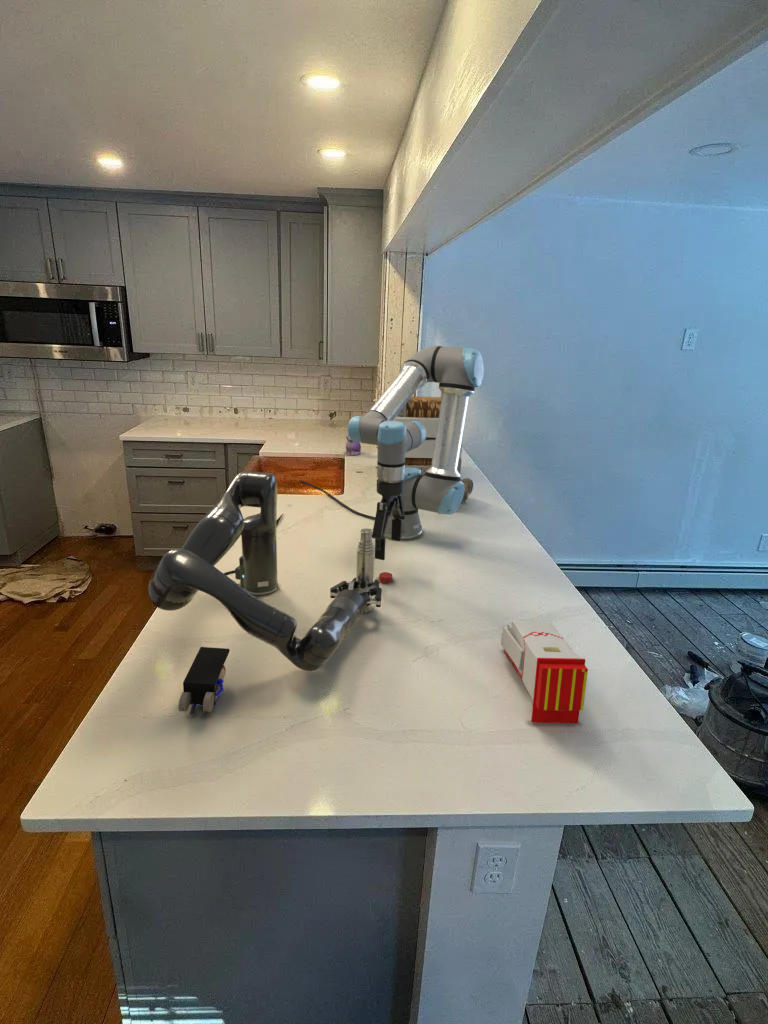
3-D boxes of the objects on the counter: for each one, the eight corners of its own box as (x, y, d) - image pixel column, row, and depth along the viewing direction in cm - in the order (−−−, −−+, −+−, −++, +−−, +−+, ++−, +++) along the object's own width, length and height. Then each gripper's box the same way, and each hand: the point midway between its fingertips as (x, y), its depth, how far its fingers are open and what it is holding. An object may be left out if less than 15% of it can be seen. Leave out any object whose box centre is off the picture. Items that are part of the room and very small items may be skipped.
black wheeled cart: (215, 728, 107) (233, 673, 120) (211, 698, 104) (230, 644, 117) (179, 727, 107) (201, 672, 120) (174, 697, 103) (197, 644, 117)
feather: (290, 508, 223) (292, 504, 223) (272, 532, 197) (275, 527, 196) (286, 505, 223) (289, 501, 223) (268, 529, 197) (271, 525, 196)
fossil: (437, 484, 244) (466, 465, 239) (450, 500, 247) (479, 482, 242) (436, 505, 224) (468, 485, 219) (450, 523, 227) (482, 504, 222)
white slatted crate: (382, 463, 289) (386, 382, 275) (445, 464, 293) (451, 384, 279) (390, 482, 257) (394, 392, 243) (460, 483, 261) (468, 394, 247)
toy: (547, 606, 135) (596, 665, 106) (541, 658, 138) (589, 729, 108) (496, 604, 134) (532, 664, 105) (492, 657, 137) (526, 729, 108)
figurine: (348, 456, 299) (349, 428, 294) (341, 451, 307) (341, 424, 302) (364, 455, 303) (365, 427, 298) (356, 450, 312) (357, 423, 307)
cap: (392, 583, 164) (393, 578, 163) (379, 583, 163) (379, 578, 163) (391, 577, 167) (392, 572, 167) (378, 577, 167) (378, 571, 166)
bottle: (355, 612, 147) (357, 533, 140) (355, 604, 152) (357, 526, 144) (371, 612, 148) (375, 533, 140) (372, 604, 152) (375, 527, 144)
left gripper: (316, 619, 138) (342, 589, 153) (372, 631, 134) (393, 598, 149) (316, 591, 135) (343, 563, 150) (373, 603, 131) (394, 572, 147)
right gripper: (392, 465, 167) (390, 531, 175) (360, 490, 145) (359, 565, 153) (417, 468, 165) (413, 535, 172) (387, 495, 143) (385, 570, 151)
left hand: (368, 581), depth 150 cm, fingers closed on bottle, 4 cm apart
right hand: (388, 549), depth 163 cm, fingers open, 13 cm apart
